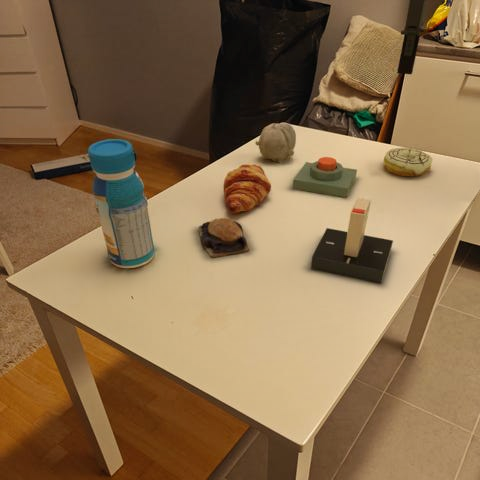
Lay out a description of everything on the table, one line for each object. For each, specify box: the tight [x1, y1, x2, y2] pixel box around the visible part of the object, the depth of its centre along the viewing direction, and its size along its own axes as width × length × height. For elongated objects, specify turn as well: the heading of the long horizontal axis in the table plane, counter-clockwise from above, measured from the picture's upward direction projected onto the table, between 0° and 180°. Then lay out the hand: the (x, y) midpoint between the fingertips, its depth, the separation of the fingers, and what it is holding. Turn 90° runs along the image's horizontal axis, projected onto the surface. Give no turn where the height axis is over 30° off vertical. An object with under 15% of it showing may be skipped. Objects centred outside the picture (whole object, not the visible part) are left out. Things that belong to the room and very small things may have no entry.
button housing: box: [292, 160, 358, 198], centre depth 103 cm, size 12×10×4 cm
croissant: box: [222, 163, 272, 214], centre depth 98 cm, size 21×10×8 cm, turn 166°
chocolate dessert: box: [198, 217, 250, 258], centre depth 86 cm, size 11×8×4 cm
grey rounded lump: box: [254, 122, 297, 163], centre depth 111 cm, size 9×8×10 cm
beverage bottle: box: [87, 138, 156, 269], centre depth 76 cm, size 8×8×20 cm
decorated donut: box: [383, 147, 433, 177], centre depth 108 cm, size 10×11×4 cm
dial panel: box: [310, 227, 394, 284], centre depth 80 cm, size 12×10×3 cm
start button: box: [317, 156, 338, 171], centre depth 101 cm, size 4×4×2 cm
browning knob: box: [344, 197, 372, 257], centre depth 77 cm, size 6×2×8 cm, turn 158°
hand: (404, 72), depth 90 cm, fingers closed
